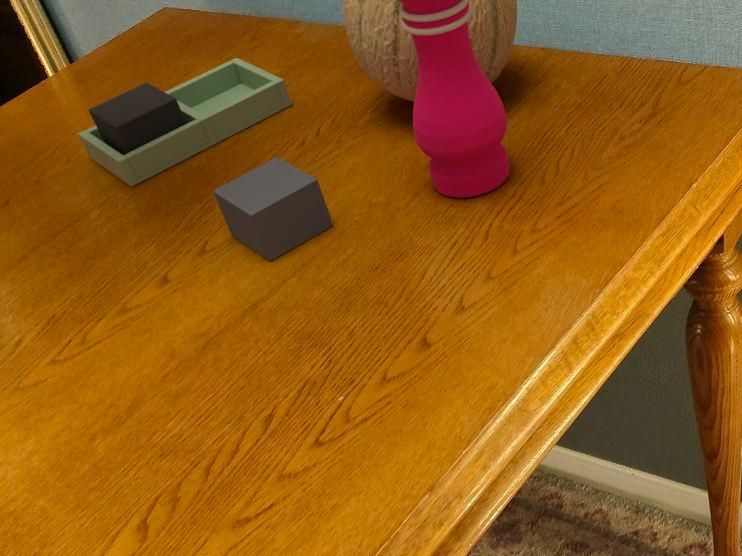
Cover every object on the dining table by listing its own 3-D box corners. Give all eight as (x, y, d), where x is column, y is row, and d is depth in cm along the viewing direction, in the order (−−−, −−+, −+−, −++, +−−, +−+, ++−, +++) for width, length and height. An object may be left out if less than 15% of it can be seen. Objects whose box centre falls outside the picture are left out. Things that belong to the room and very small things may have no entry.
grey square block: (269, 262, 76) (250, 215, 74) (231, 236, 80) (212, 190, 77) (333, 225, 79) (317, 178, 76) (293, 202, 82) (277, 156, 79)
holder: (131, 187, 88) (118, 161, 86) (90, 158, 93) (77, 133, 91) (292, 104, 94) (283, 79, 92) (245, 81, 99) (236, 57, 97)
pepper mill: (415, 173, 82) (344, -102, 67) (496, 145, 83) (443, -132, 68) (444, 212, 77) (374, -74, 62) (529, 181, 78) (480, -107, 64)
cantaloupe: (342, 104, 93) (287, -75, 81) (471, 43, 97) (435, -135, 86) (425, 155, 84) (377, -38, 73) (563, 86, 88) (537, -106, 77)
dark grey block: (136, 170, 89) (115, 127, 86) (108, 151, 93) (87, 109, 90) (194, 141, 91) (176, 98, 88) (165, 123, 95) (146, 81, 92)
